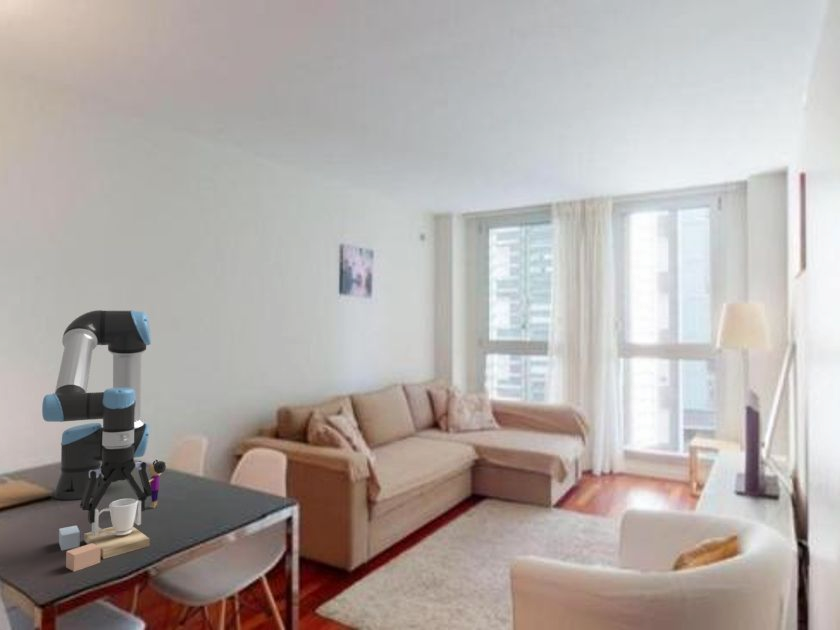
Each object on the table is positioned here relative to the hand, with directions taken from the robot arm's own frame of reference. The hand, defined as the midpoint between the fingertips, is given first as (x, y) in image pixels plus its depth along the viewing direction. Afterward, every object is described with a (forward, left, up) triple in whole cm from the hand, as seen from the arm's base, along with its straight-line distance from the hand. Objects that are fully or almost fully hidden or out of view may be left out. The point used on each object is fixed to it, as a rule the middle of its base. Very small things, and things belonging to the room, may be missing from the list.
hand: (116, 528), depth 145 cm
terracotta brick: (+8, -10, -4) cm, 13 cm away
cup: (0, 0, -1) cm, 1 cm away
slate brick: (-8, -9, -4) cm, 13 cm away
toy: (-22, +19, -4) cm, 29 cm away
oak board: (0, 0, -4) cm, 4 cm away
